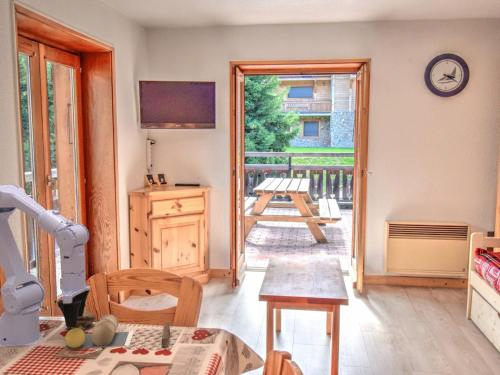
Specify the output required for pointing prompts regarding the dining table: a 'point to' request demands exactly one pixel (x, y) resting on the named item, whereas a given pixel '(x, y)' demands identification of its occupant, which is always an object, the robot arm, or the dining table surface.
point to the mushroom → (84, 320)
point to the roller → (104, 330)
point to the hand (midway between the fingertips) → (75, 321)
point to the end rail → (165, 335)
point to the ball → (75, 337)
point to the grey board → (117, 341)
